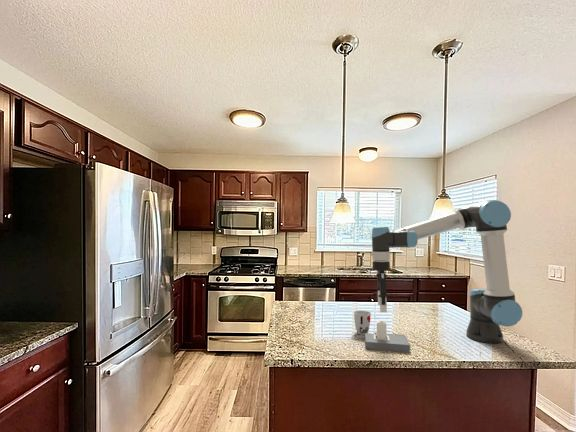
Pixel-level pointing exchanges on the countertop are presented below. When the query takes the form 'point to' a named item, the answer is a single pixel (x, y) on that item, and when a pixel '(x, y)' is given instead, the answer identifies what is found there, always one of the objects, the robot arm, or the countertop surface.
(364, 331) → the cup
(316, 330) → the countertop surface
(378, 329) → the block
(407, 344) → the plate
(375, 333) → the phone
